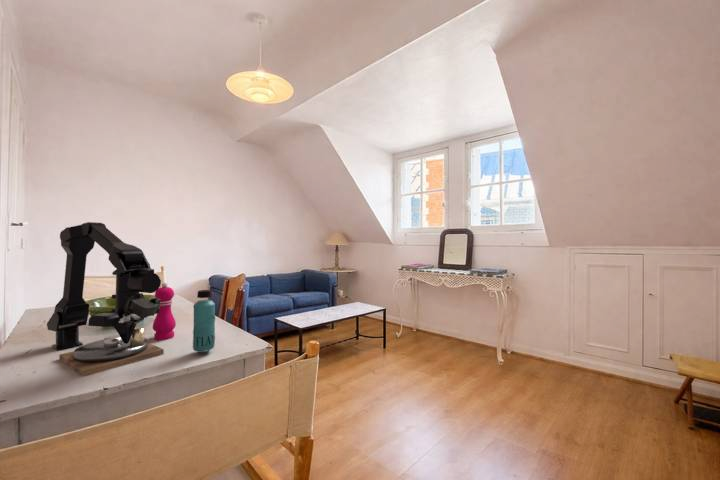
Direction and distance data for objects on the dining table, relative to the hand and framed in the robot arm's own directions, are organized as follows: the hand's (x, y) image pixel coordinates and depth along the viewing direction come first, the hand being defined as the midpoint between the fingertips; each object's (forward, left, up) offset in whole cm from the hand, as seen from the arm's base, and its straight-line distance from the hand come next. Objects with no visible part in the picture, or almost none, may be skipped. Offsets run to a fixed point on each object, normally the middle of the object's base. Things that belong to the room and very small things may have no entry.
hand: (126, 343), depth 95 cm
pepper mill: (-14, +17, -5) cm, 23 cm away
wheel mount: (-7, -1, -5) cm, 9 cm away
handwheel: (-7, -1, -3) cm, 8 cm away
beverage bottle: (+12, +17, -5) cm, 22 cm away
